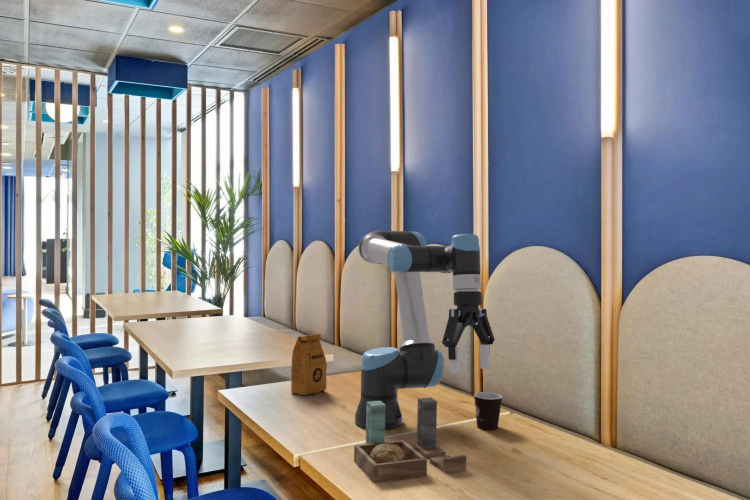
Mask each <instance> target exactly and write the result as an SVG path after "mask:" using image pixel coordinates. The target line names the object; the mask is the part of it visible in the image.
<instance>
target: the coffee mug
mask: <svg viewBox="0 0 750 500" xmlns="http://www.w3.org/2000/svg"><path fill="white" fill-rule="evenodd" d="M473 395H474V396H473V397H474V398H473V399H474V406H475V419H476V427H477V429H480V430H482V431H496V430H498V428H499V420H500V414H501V407H502V400H503V395H501V394H499V393H495V392H489V391H485V392H484V391H482V392H481V391H479V392H476V393H474V394H473Z"/></svg>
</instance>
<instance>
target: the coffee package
mask: <svg viewBox="0 0 750 500" xmlns="http://www.w3.org/2000/svg"><path fill="white" fill-rule="evenodd" d="M321 338H322V335H321V333H319V332H318V333H313V334H308V335H307V334H306V335H300V336H299V335H298V336H297V339H296V341H295V344H294V346H293V349H292V354H291V368H290V369H291V370H290V371H291V373H290V375H291V379H290V381H291V387H290V388H291V389H290V392H291V393H292V394H297V393H299V395H301V396H307V395H308V394H309V395H313V394H312V393H314V394H319V393H322V392H321V391H324V392H325V391H326V390H327V358H326V356H325V352H324V349H323V348H322V343H321V340H320V339H321ZM318 392H319V393H318Z"/></svg>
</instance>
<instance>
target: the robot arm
mask: <svg viewBox="0 0 750 500" xmlns="http://www.w3.org/2000/svg"><path fill="white" fill-rule="evenodd" d="M479 239H480V238H479V236H478V235H477V234H474V233H460V234H459V233H458V234H455V235H452V237H451V242H450V245H428V244H427V241H426V238H425V236H424V235H422V234H421V233H420V232H418V231H411V230H406V231H405V230H402V231H401V230H400V231H399V230H374V231H372V232H371V231H370V232H369V233H367V234H365V235H364V236H363V237H362V238H361V239H360V241H359V243H358V253H359V255H360V257H361V258H362V260H364V261H365V262H367V263H370V264H373V265H374V264H376V265H386V266H387V267H388V269H389V271H390V272H391V273H392V274H393V275H394V276H395V286H396V293H397V302H398V309H399V311H398V312H399V319H400V327H401V334H402V344H401V345H400V346H399V350H398V348H396V347H392V346H389V347H388V346H387V347H384V346H383V347H376V348H375V347H374V348H371V349H368V350H366V351H365V352H364V353H363V354H362V357H361V364H360V371H361V374H360V376H361V377H360V400H359V403H358V405H357V407H356V411H355V413H354V423H355V425H357V426H358V427H360V428H364V429H366V407H367V402H372V401H381V402H383V403H384V404H385V405H386V408H385V430H390V429H391V430H392V429H396V428H398V427H400V426H402V425H403V413H402V411H401V407H400V404H399V399H398V390H406V389H418V388H422V389H426V388H431V387H436V386H438V385H439V383H440V382H441V381H442V378H443V375H444V367H445V361H444V356H443V354H442V352H441V351H440V350H438V349H436V346H435V343H434V342H433V341H432V340H430V335H429V330H428V321H427V316H426V306H425V300H424V293H423V285H422V278H421V273H441V274H451V273H452V290H453V291H455V292H453V305H454V306H455V307H456V308H449V309H448V319H447V323H446V326H445V330H444V334H443V337H442V342H441V345H444V347H445V348H447V350H448V351H447V352H448V360H449V373H451V374H452V373H453V374H455V373H456V374H457V373H459V374H460V373H461V369H460V367H461V365H460V364H461V363H460V347H458V344H459V342H460V339H461V338H462V335H463V333H464V331H465V328H467V327H468V326H470V327H472V329H473V330H474V332H475V334H476V336H477V337H478V339H479V341H480V344H479V362H480V363H479V366H480V369H483V370H484V369H486V370H490V369H491V357H490V355H491V351H490V350H491V349H490V348H491V347H490V346H491V345H494V342H495V336H494V333H493V330H492V328H491V327H492V326H491V324H490V320H489V319H488V313H487V312H488V311H487V308H479V307H480V306H481V305H482V304H483V303H482V302H483V297H482V292H481V291H480V290H481V289H482V280H481V247H480V240H479Z"/></svg>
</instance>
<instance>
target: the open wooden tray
mask: <svg viewBox="0 0 750 500" xmlns="http://www.w3.org/2000/svg"><path fill="white" fill-rule="evenodd" d="M385 408H386V405H385V404H384V403H383V402H381V401H372V402H367V407H366V428H365V444H355V445H354V446H353V448H354V449H353V450H354V451H353V453H354V454H353V462H354V463H355V464H356V465H357V466H358V468H360V469H361V471H362V472H363V473H364V474H365V475H366V476H367V478H369V479H370V481H371V482H373V484H378V483H384V482H391V481H398V480H401V481H402V480H406V479H407V480H408V479H416V478H422V477H427V476H428V475H427V472H428V470H427V469H428V458H425V457H423V456H422V455H421V454H420V453H419V452H417V451H416V450H415V449H414V448H413V446H411V445H410V444H409V443H408V442H407V441H405V440H404V439H401V440H391V441H390V440H389V441H386V440H385V439H386V429H385ZM390 443H391V444H396V445H398V446H400V447H401V448H402V449H403V450H404V451H405V453H406V455H407V458H408V460H404V461H396V462H387V463H379V464H376V463H375V462H374V461H373V460H372V459H371V458H370V454H371V452H372V450H373V448H374V447H376V446H377V445H380V444H390Z"/></svg>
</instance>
